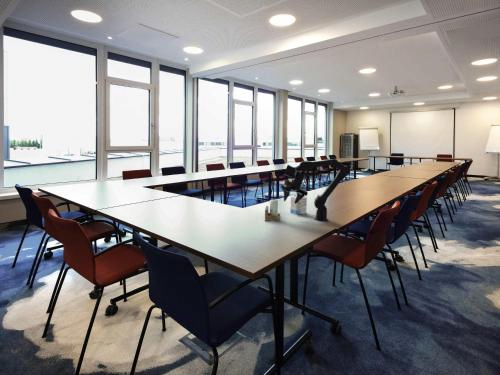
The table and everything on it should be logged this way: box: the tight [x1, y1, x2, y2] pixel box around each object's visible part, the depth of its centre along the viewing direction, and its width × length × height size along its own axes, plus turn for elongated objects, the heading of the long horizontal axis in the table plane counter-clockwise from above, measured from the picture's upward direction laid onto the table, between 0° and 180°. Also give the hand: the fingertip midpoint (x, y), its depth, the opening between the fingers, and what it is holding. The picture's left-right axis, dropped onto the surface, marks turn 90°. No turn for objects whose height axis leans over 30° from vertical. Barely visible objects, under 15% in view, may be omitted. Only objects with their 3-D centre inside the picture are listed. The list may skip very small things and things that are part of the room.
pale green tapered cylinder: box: [269, 199, 279, 216], centre depth 200 cm, size 5×5×12 cm
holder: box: [264, 205, 281, 222], centre depth 200 cm, size 10×13×7 cm
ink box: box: [289, 193, 308, 215], centre depth 216 cm, size 9×8×13 cm
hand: (289, 202), depth 199 cm, fingers open, 9 cm apart
